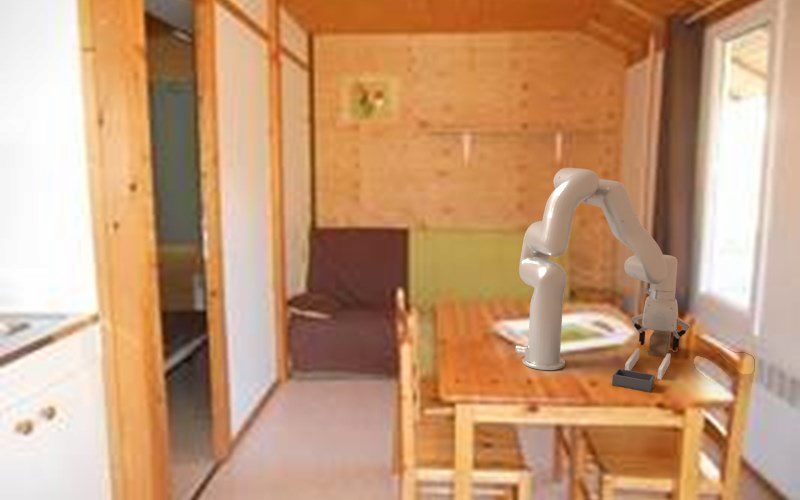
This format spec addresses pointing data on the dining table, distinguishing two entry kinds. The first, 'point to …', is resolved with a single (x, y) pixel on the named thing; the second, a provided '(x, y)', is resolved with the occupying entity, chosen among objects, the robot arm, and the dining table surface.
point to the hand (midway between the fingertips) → (658, 346)
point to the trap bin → (633, 380)
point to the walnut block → (659, 343)
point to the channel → (635, 357)
